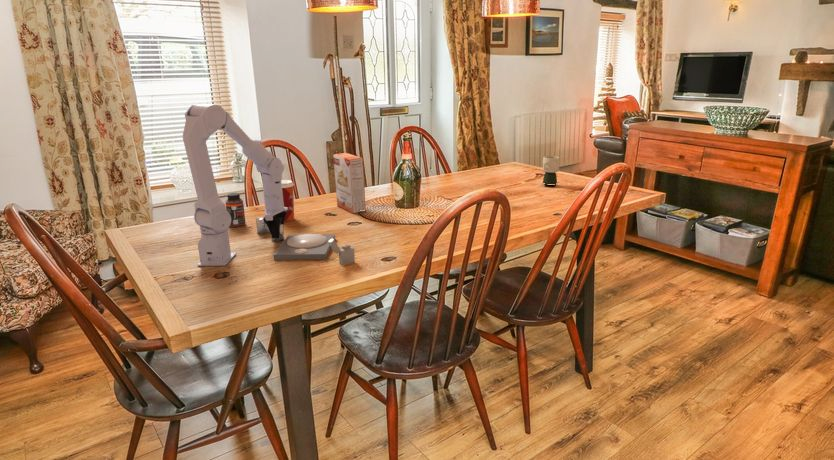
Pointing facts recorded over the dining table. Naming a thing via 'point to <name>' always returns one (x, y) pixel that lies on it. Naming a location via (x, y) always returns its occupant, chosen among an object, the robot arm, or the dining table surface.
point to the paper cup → (288, 199)
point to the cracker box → (349, 182)
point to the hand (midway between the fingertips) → (277, 235)
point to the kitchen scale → (304, 247)
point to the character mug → (550, 169)
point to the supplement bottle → (235, 209)
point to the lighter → (343, 252)
